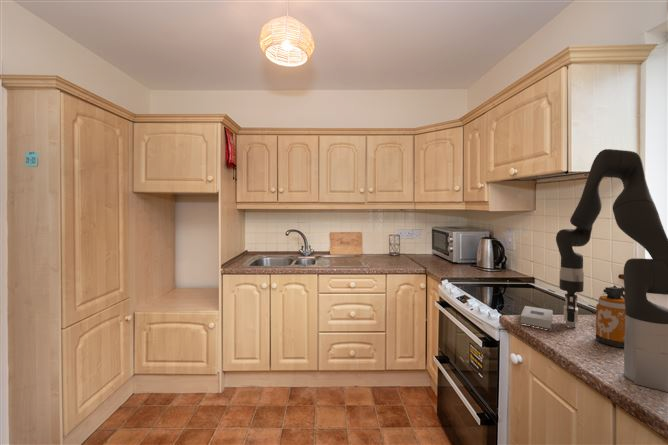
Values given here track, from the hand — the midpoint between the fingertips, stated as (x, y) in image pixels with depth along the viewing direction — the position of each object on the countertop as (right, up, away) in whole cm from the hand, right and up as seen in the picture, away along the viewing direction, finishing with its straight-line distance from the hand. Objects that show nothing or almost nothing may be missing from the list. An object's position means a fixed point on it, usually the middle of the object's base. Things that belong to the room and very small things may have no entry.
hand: (570, 318), depth 119 cm
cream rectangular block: (0, -3, 0) cm, 3 cm away
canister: (+3, -4, -15) cm, 16 cm away
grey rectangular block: (-11, -3, +5) cm, 12 cm away
